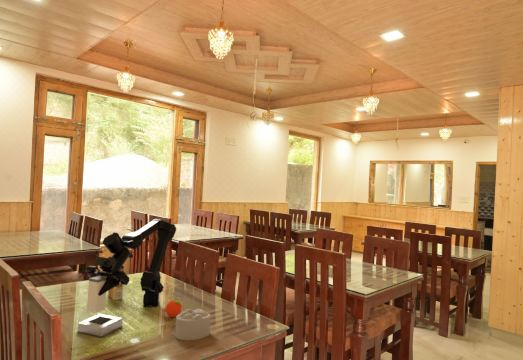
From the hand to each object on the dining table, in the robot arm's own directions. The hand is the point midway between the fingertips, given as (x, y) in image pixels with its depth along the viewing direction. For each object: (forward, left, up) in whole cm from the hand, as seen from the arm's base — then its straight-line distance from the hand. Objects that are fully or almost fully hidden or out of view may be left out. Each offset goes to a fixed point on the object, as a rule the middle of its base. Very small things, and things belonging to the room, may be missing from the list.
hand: (94, 294), depth 135 cm
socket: (-3, 0, -13) cm, 14 cm away
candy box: (+1, -40, -14) cm, 42 cm away
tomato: (-30, -14, -14) cm, 35 cm away
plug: (-1, -1, -7) cm, 7 cm away
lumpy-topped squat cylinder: (-38, +4, -14) cm, 40 cm away
